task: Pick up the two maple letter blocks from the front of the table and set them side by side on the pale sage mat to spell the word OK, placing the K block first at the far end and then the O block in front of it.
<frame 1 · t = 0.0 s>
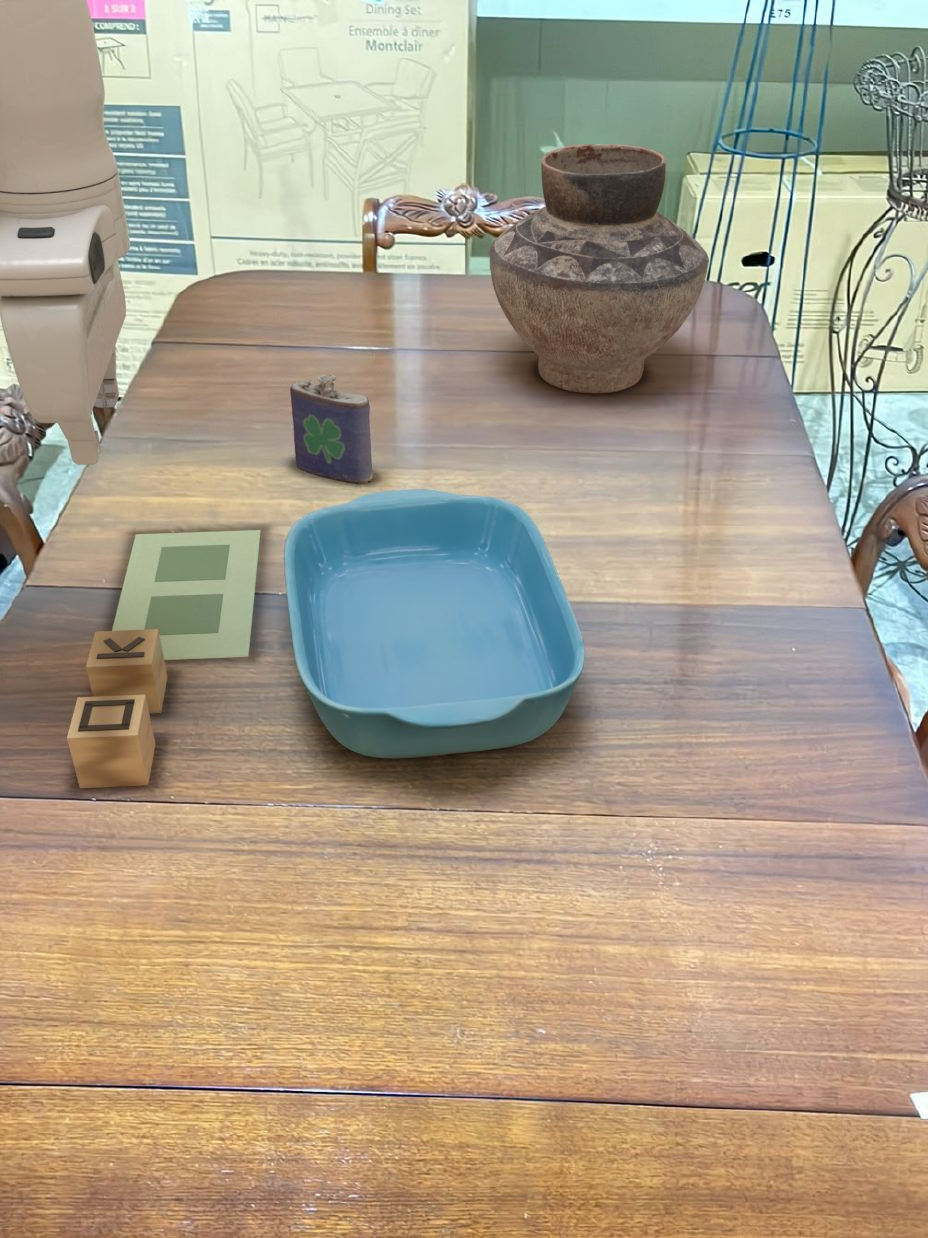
hand: (97, 430, 89), 21 cm above the table, tool pointing down, fingers open, 8 cm apart
flask: (333, 477, 131), on the table
ceramic pot: (590, 375, 152), on the table
word mat: (188, 594, 113), on the table
letter O: (119, 769, 94), on the table
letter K: (133, 699, 101), on the table
casserole dish: (427, 661, 106), on the table
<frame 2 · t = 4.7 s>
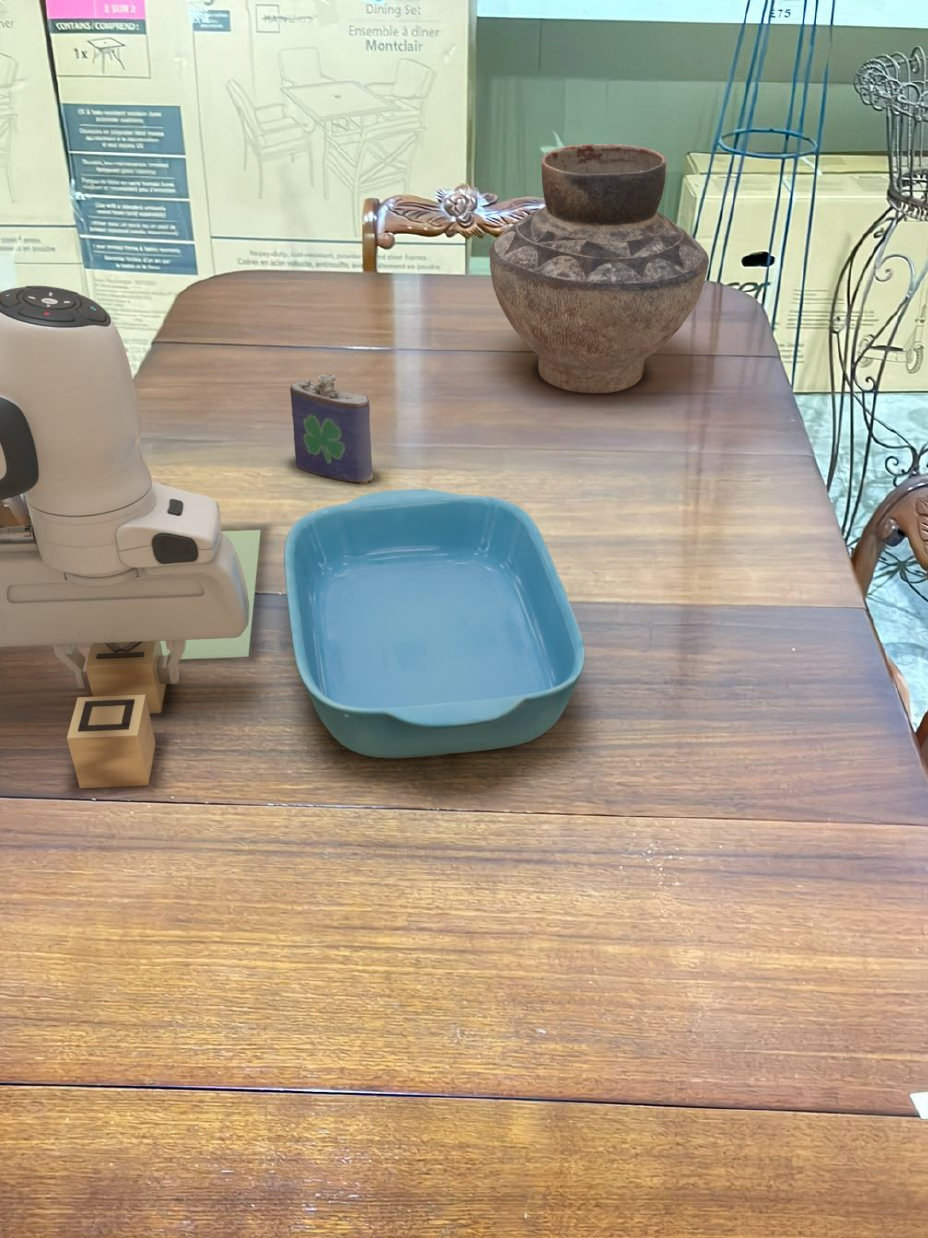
hand: (130, 681, 100), 2 cm above the table, tool pointing down, fingers closed on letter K, 5 cm apart
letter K: (133, 699, 101), on the table, touching gripper
everything else where it was.
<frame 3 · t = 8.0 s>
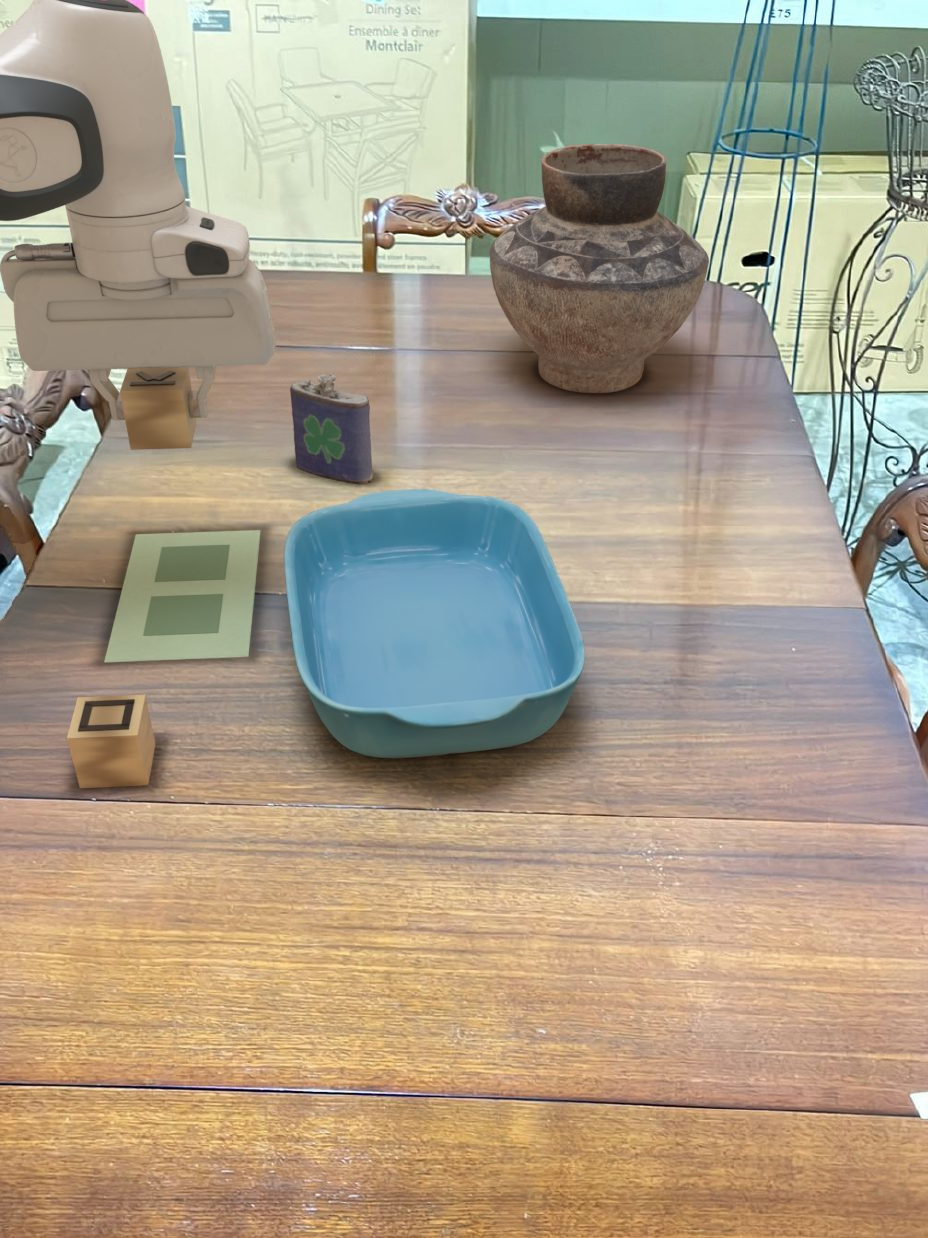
hand: (161, 416, 105), 16 cm above the table, tool pointing down, fingers closed on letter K, 5 cm apart
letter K: (164, 436, 106), point 14 cm above the table, touching gripper
everything else where it was.
when the fingers open (2 cm above the table, at t = 11.6 s): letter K stays where it is, resting on word mat.
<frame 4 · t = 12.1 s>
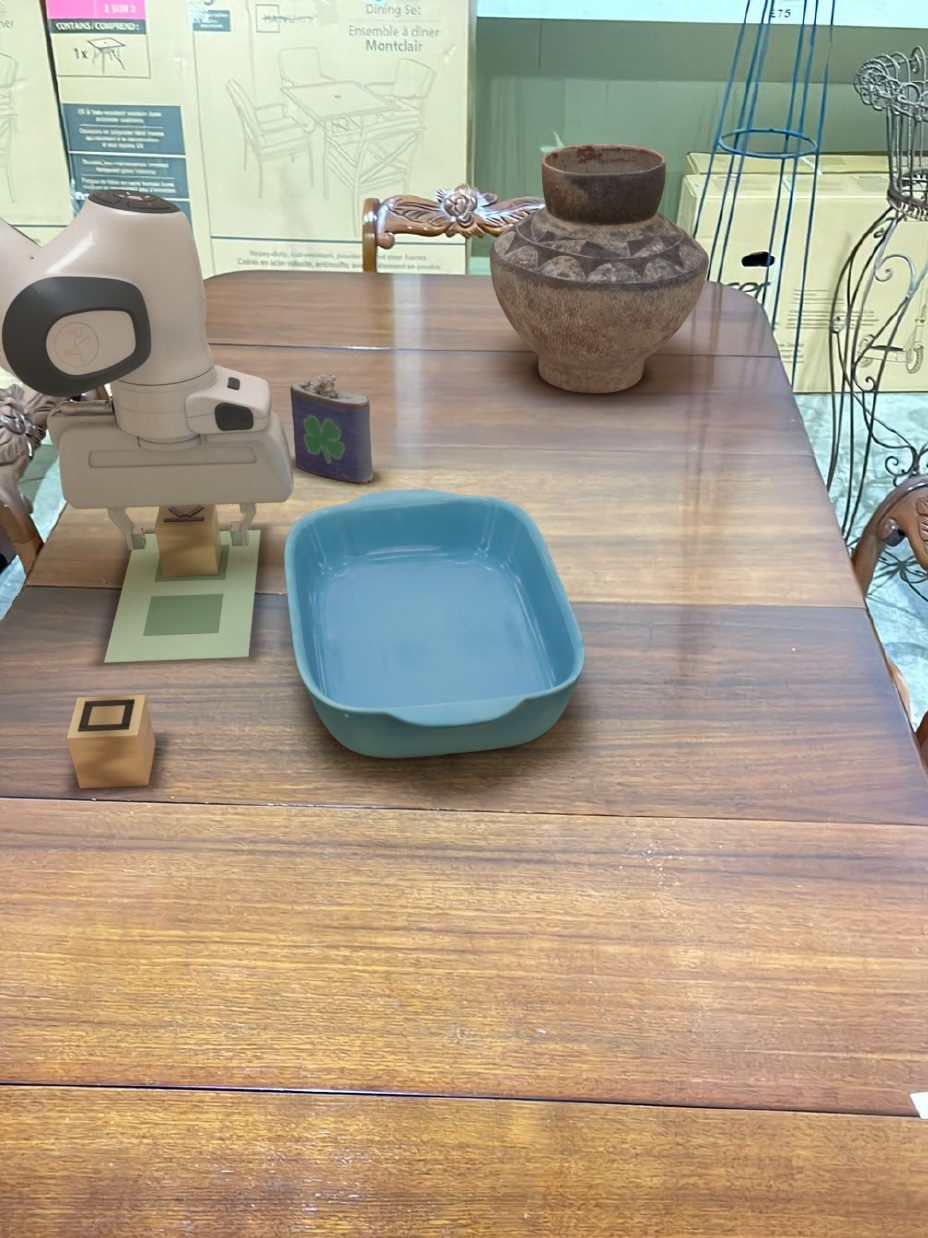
hand: (189, 544, 116), 2 cm above the table, tool pointing down, fingers open, 8 cm apart
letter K: (193, 562, 117), resting on word mat
everything else where it was.
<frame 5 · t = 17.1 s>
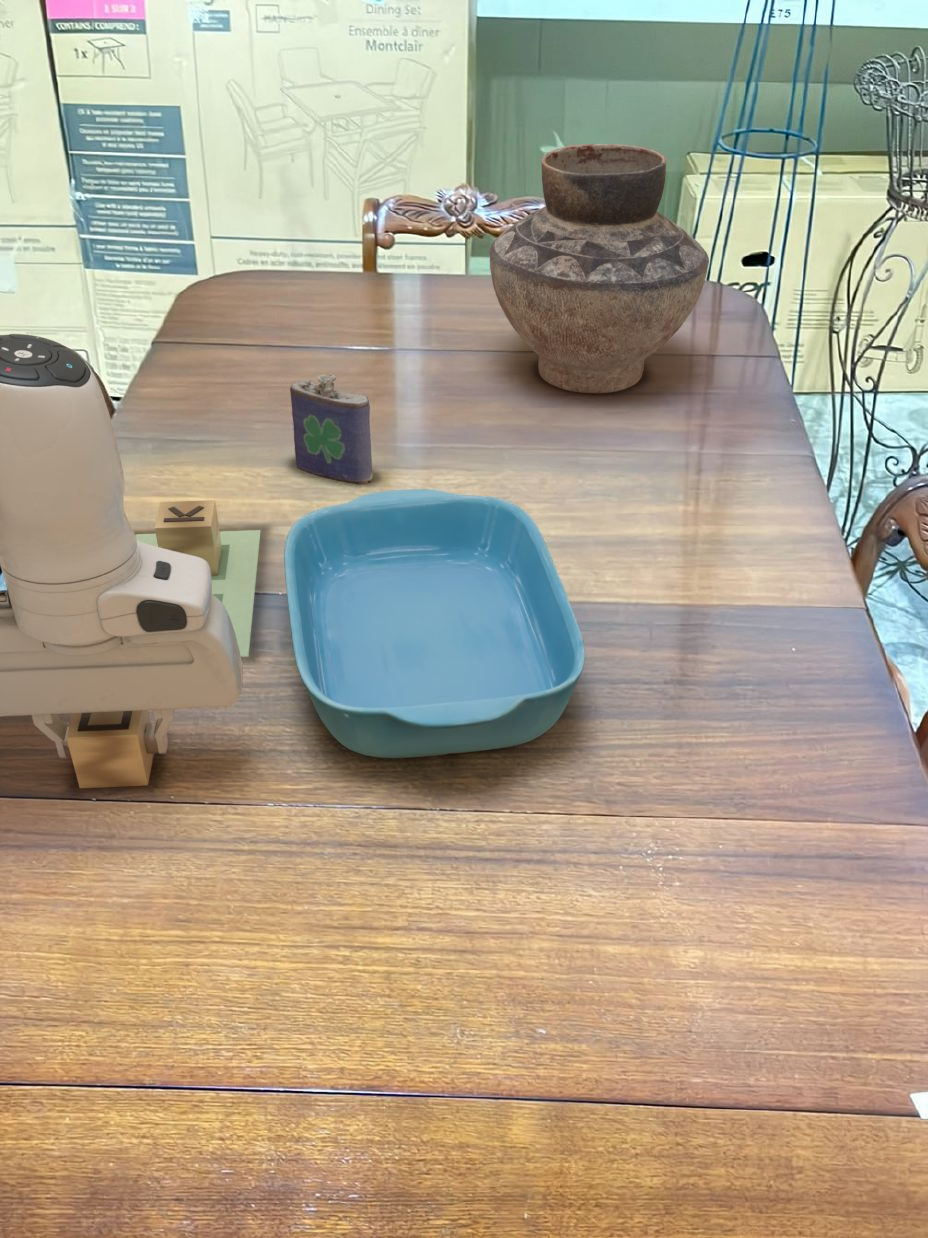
hand: (115, 751, 93), 2 cm above the table, tool pointing down, fingers closed on letter O, 5 cm apart
letter O: (119, 769, 94), on the table, touching gripper
everything else where it was.
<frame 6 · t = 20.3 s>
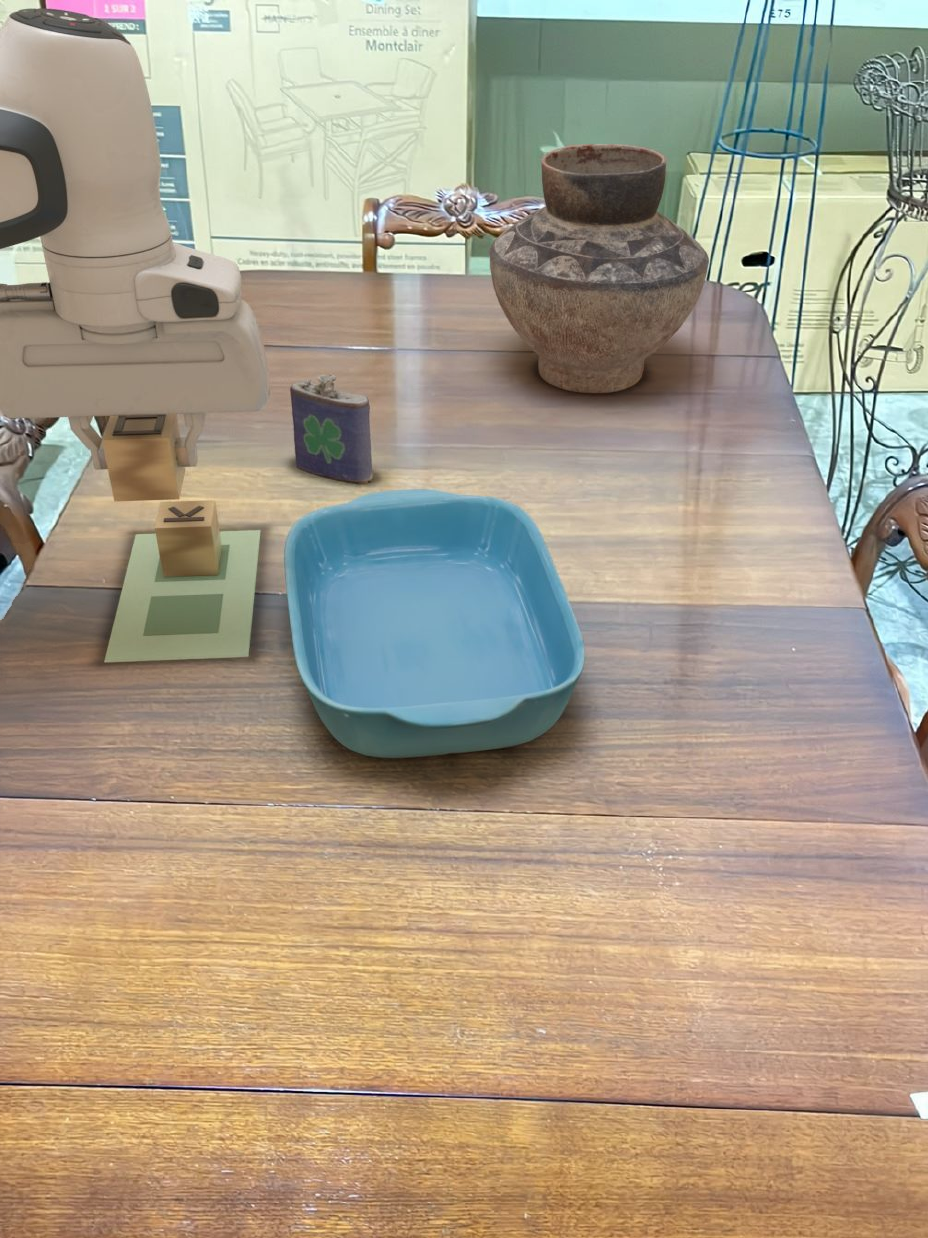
hand: (147, 465, 98), 16 cm above the table, tool pointing down, fingers closed on letter O, 5 cm apart
letter O: (150, 485, 99), point 14 cm above the table, touching gripper
everything else where it was.
when the fingers open (2 cm above the table, at t = 24.0 s): letter O stays where it is, resting on word mat.
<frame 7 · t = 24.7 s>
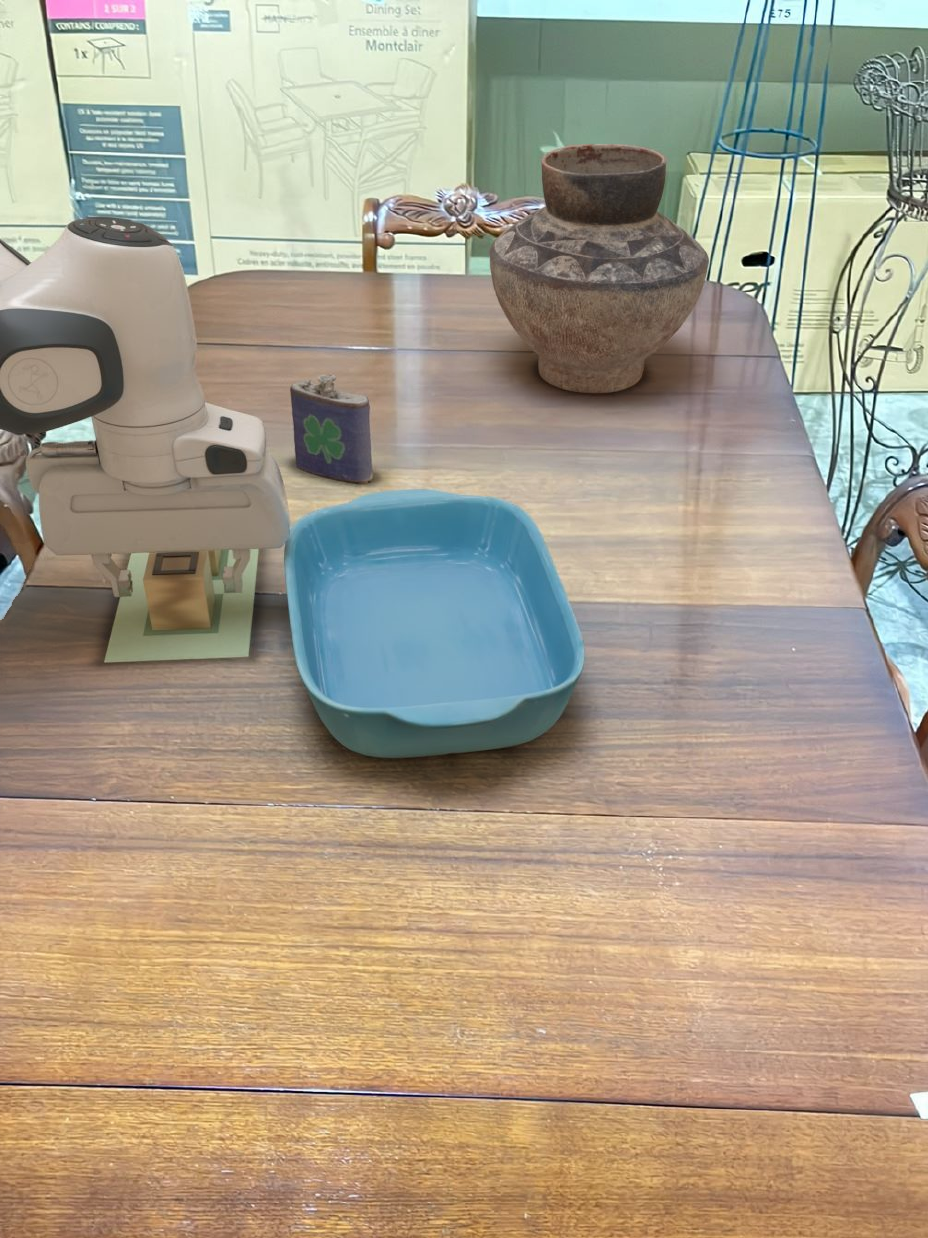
hand: (179, 591, 109), 3 cm above the table, tool pointing down, fingers open, 8 cm apart
letter O: (184, 614, 110), resting on word mat
everything else where it was.
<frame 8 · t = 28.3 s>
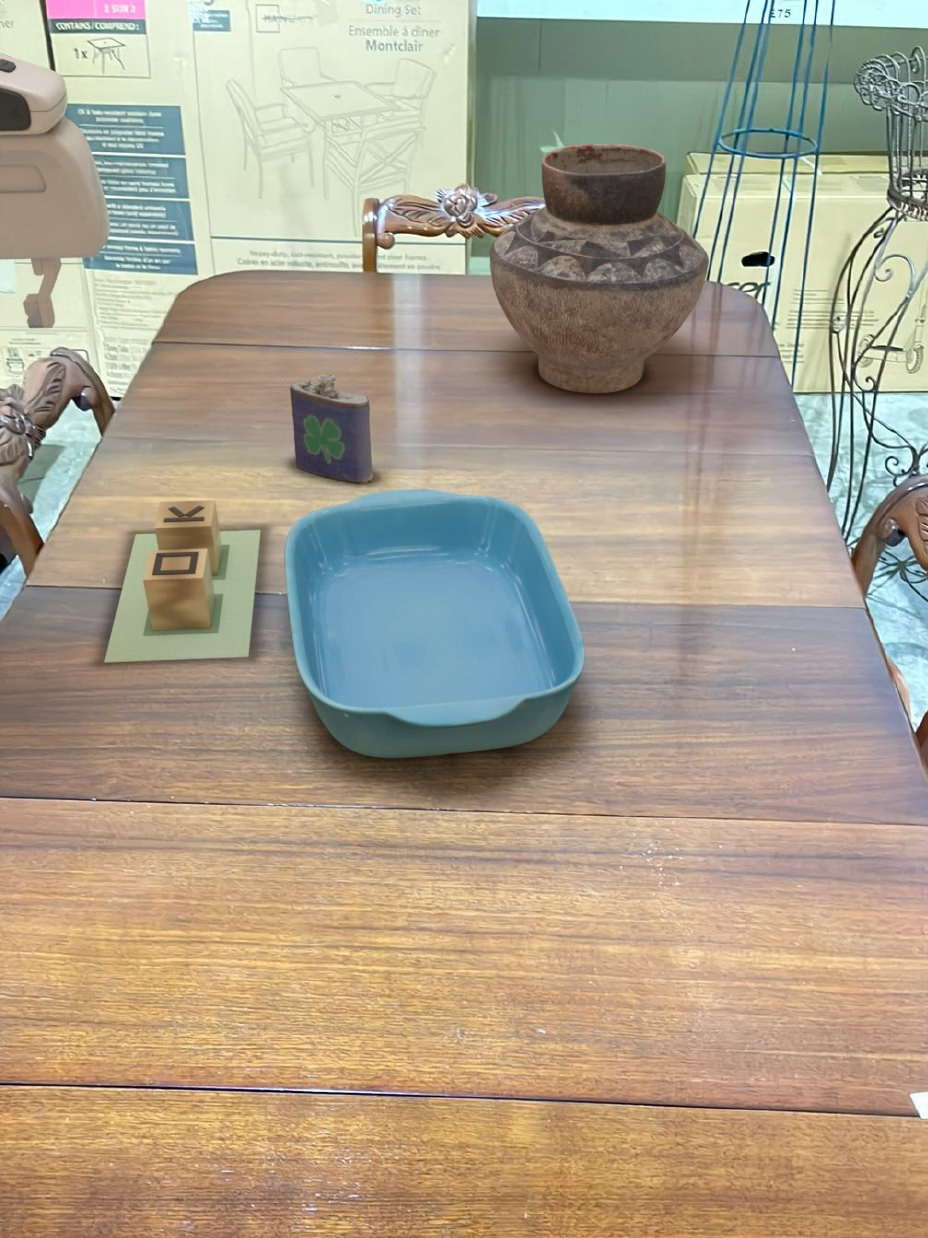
nothing on the table moved.
at the end: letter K 0.0 cm from the target spot on the word mat, point 0.4 cm above the word mat's base; letter O 0.0 cm from the target spot on the word mat, point 0.4 cm above the word mat's base; letter O tilted 0° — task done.
